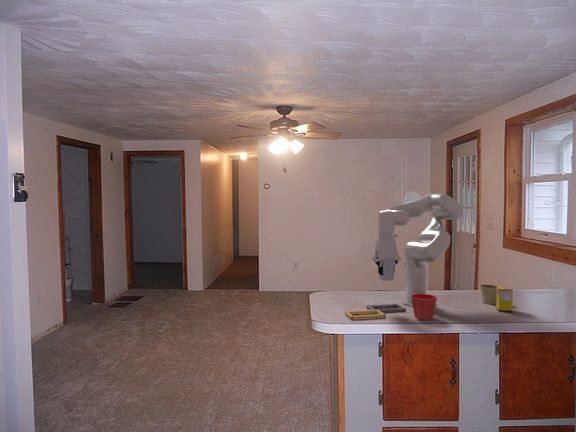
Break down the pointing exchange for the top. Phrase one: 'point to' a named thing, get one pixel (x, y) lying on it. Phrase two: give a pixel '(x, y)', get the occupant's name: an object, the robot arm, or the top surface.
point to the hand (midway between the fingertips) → (386, 274)
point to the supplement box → (504, 299)
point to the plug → (387, 270)
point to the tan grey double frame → (375, 311)
